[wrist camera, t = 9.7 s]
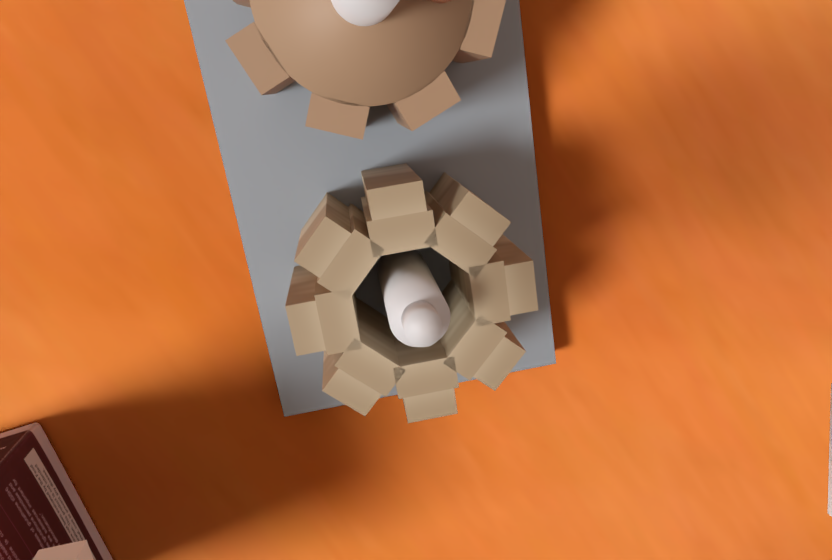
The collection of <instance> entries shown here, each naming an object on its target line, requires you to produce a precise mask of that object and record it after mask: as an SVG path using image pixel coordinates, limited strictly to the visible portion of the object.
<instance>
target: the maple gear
mask: <svg viewBox="0 0 832 560" xmlns="http://www.w3.org/2000/svg"><path fill="white" fill-rule="evenodd" d="M361 175H362V181H363V186H364V192H365V196H364V197H361V201H362V207H363V211H362V210H360V209H359V208H357V207H356V206H354V205H353V204H350V205H349V207H348V206H346V205H345V204H343V203H342V202H341V201H339V200H338V199H336V198H335V197H333V196H332V195H330V194H329V193H326V195H325V196H324V198H323V199H322V200H321V202H320V203H319V205H318V206H317V208H316V209H315V211H314V212H313V213H312V215H311V216H310V218H309V219H308V221H307V222H306V224H305V225H304V226H303V228H302V229H301V233H300V237H299V242H298V246H297V250H296V255H295V259H294V262H296V263H297V264H299V265H300V266H295V267H294V269H293V274H292V278H291V282H290V287H289V291H288V296H287V300H286V304H285V308H286V312H287V317H288V321H289V325H290V330H291V334H292V339H293V343H294V348H295V352H296V356H299V355H305V354H310V353H315V352H320V351H324V358H323V382H322V391H323V392H325V393H327V394H328V395H330V396H332V397H333V398H335V399H337V400H338V401H340V402H342V403H343V404H345V405H347V406H348V407H350V408H352V409H354V410H355V411H357V412H359V413H360V414H362V415H364V416H366V415H367V413H368V412H369V411H370V409H371V408H372V407H373V405H374V404H375V403H376V401H377V400H378V399H379V397H380V396H381V395H383V396H385V397H386V396H387V395H388V394H389V392H390V391H391V390H392V388H393V387H394V386H395V384H396V389H397V394H398V398H399V399H402V398H403V402H404V407H405V411H406V416H407V420H408V423H412V422H417V421H422V420H427V419H432V418H437V417H442V416H447V415H452V414H457V413H458V412H457V405H456V398H455V392H454V388H458V387H459V384H458V377H457V373H459V374H460V375H462V376H464V377H465V378H467V379H468V380H471V379H472V377H474V378H476V379H477V380H479V381H481V382H482V383H484V384H485V385H487V386H488V387H490V388H491V389H493V390H496V389H497V388H498V387H499V385H500V384H501V383H502V381H503V380H504V379H505V378H506V376H507V375H508V374H509V373H510V371H511V370H512V369H513V367H514V366H515V365H516V364H517V362H518V361H519V360H520V359H521V357H522V356H523V355H524V354H525V352H526V351H525V349H524V348H523V346H522V345H521V344H520V342H519V341H518V340H517V338H516V337H515V335H514V334H513V333H512V331H511V330H510V329H509V327H508V326H507V324H506V323H505V321H510V320H511V318H510V316H511V315H516V314H521V313H526V312H532V311H537V310H538V302H537V292H536V283H535V273H534V264H533V260H532V259H531V258H530V257H529V256H527V255H526V254H525V253H524V252H523V251H522V250H520V249H519V248H518V247H517V246H516V245H515V244H514V243H512V242H511V241H510V240H509V239H508V238H507V237H506V236H504V235H503V233H504V231H505V230H506V229H507V227H508V226H509V225H510V224H511V222H510V221H509V220H508V219H507V218H505V217H504V216H503V215H501V214H500V213H499V212H497V211H496V210H495V209H493V208H492V207H491V206H489V205H488V204H487V203H485V202H484V201H483V200H482V199H480V198H479V197H478V196H476V195H475V194H473V193H472V192H471V191H469V190H468V189H467V188H465V187H464V186H463V185H461V184H460V183H459V182H457V181H456V180H454V179H453V178H452V177H450V176H449V175H448V174H446V173H445V172H444V173H443V175H442V176H441V177H440V179H439V180H438V181H437V183H436V184H435V186H434V187H433V188H432V190H431V191H430V193H429V192H428V191H426V190H425V192H424V188H423V181H422V179H421V178H420V177H419V176H418V175H417V174H416V173H415V172H414V171H413V170H412V169H411V168H410V167H409V166H408V165H407V164H406V163H405V164H399V165H393V166H387V167H382V168H376V169H370V170H364V171H361ZM427 247H431V248H433V249H434V250H436V251H437V252H438V253H440V254H441V255H443V256H444V257H446V258H447V259H448V260H449V267H450V274H451V281H450V282H449V283H448V285H447V286H446V287H445V289H444V290H443V291H442V295H443V297H444V299H445V301H446V302H447V304H448V307H449V310H450V324H449V327H448V329H447V331H446V333H445V334H444V335H443V337H442V338H441V339H439V340H438V341H437V342H436V343H435V344H433V345H431V346H428V347H412V346H408V345H405V344H404V343H402V342H400V341H399V340H398V339H397V338H396V337H395V336H394V334H393V333H392V331H391V329H390V325H389V321H388V318H387V317H386V316H384V315H383V314H381V313H380V312H378V311H377V310H375V309H374V308H372V307H370V306H369V305H367V304H366V303H364V302H363V301H361V300H360V299H358V298H357V297H356V294H355V291H356V289H357V288H358V287H359V285H360V284H361V282H362V281H363V280H364V278H365V277H366V275H367V274H368V273H369V271H370V270H371V269H372V267H373V266H374V264H375V263H376V262H377V260H378V259H379V257H380V256H383V255H389V254H394V253H400V252H405V251H411V250H416V249H422V248H427Z"/></svg>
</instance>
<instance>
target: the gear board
mask: <svg viewBox="0 0 832 560" xmlns="http://www.w3.org/2000/svg"><path fill="white" fill-rule="evenodd" d="M184 2H185V6H186V11H187V15H188V19H189V23H190V27H191V31H192V36H193V40H194V44H195V48H196V52H197V56H198V60H199V65H200V69H201V73H202V77H203V81H204V85H205V89H206V94H207V98H208V102H209V106H210V110H211V114H212V118H213V123H214V127H215V131H216V135H217V139H218V143H219V148H220V152H221V156H222V160H223V164H224V168H225V172H226V177H227V181H228V185H229V189H230V193H231V197H232V201H233V206H234V210H235V214H236V218H237V222H238V226H239V230H240V235H241V239H242V243H243V247H244V251H245V255H246V260H247V264H248V268H249V272H250V276H251V280H252V284H253V289H254V293H255V297H256V301H257V305H258V309H259V313H260V318H261V322H262V326H263V330H264V334H265V338H266V343H267V347H268V351H269V355H270V359H271V363H272V367H273V372H274V376H275V380H276V384H277V388H278V392H279V396H280V401H281V405H282V409H283V413H284V417H286V416H291V415H296V414H301V413H306V412H311V411H316V410H321V409H327V408H332V407H337V406H342V405H345V404H343V403H342V402H340V401H338V400H337V399H335V398H333V397H332V396H330V395H328V394H327V393H325V392H323V391H322V382H323V358H324V351H320V352H315V353H310V354H305V355H299V356H296V352H295V348H294V343H293V339H292V334H291V330H290V325H289V321H288V317H287V312H286V308H285V304H286V300H287V296H288V291H289V287H290V282H291V278H292V274H293V269H294V267H295V266H300V265H299V264H297V263H296V262H294V259H295V255H296V250H297V246H298V242H299V237H300V233H301V229H302V228H303V226H304V225H305V224H306V222H307V221H308V219H309V218H310V216H311V215H312V213H313V212H314V211H315V209H316V208H317V206H318V205H319V203H320V202H321V200H322V199H323V198H324V196H325V195H326V193H329V194H330V195H332V196H333V197H335V198H336V199H338V200H339V201H341V202H342V203H343V204H345V205H346V206H348V207H349V205H350V204H353V205H354V206H356V207H357V208H359V209H360V210H362V211H363V207H362V201H361V197H364V196H365V192H364V186H363V181H362V175H361V171H364V170H370V169H376V168H382V167H387V166H393V165H399V164H405V163H406V164H407V165H408V166H409V167H410V168H411V169H412V170H413V171H414V172H415V173H416V174H417V175H418V176H419V177H420V178H421V179H422V181H423V188H424V192H425V190H426V191H428V192H429V193H430V191H431V190H432V188H433V187H434V186H435V184H436V183H437V181H438V180H439V179H440V177H441V176H442V175H443V173H444V172H445V173H446V174H448V175H449V176H450V177H452V178H453V179H454V180H456V181H457V182H459V183H460V184H461V185H463V186H464V187H465V188H467V189H468V190H469V191H471V192H472V193H473V194H475V195H476V196H478V197H479V198H480V199H482V200H483V201H484V202H485V203H487V204H488V205H489V206H491V207H492V208H493V209H495V210H496V211H497V212H499V213H500V214H501V215H503V216H504V217H505V218H507V219H508V220H509V221H510V222H511V224H510V225H509V226H508V227H507V229H506V230H505V231H504V233H503V235H504V236H506V237H507V238H508V239H509V240H510V241H511V242H512V243H514V244H515V245H516V246H517V247H518V248H519V249H520V250H522V251H523V252H524V253H525V254H526V255H527V256H529V257H530V258H531V259H532V260H533V264H534V273H535V283H536V292H537V302H538V310H537V311H532V312H526V313H521V314H516V315H511V316H510V318H511V320H510V321H505V323H506V324H507V326H508V327H509V329H510V330H511V331H512V333H513V334H514V335H515V337H516V338H517V340H518V341H519V342H520V344H521V345H522V346H523V348H524V349H525V351H526V352H525V354H524V355H523V356H522V357H521V359H520V360H519V361H518V362H517V364H516V365H515V366H514V367H513V369H512V370H511V371H510V372H515V371H520V370H525V369H530V368H535V367H540V366H545V365H550V364H555V363H556V359H555V349H554V339H553V330H552V320H551V310H550V300H549V290H548V280H547V270H546V260H545V251H544V241H543V231H542V221H541V211H540V201H539V191H538V181H537V172H536V162H535V152H534V142H533V132H532V122H531V112H530V102H529V93H528V83H527V73H526V63H525V53H524V43H523V33H522V23H521V14H520V4H519V0H184ZM450 281H451V274H450V267H449V260H448V259H447V258H446V257H444V256H443V255H441V254H440V253H438V252H437V251H436V250H434V249H433V248H431V247H427V248H422V249H416V250H411V251H405V252H400V253H394V254H389V255H383V256H380V257H379V259H378V260H377V262H376V263H375V264H374V266H373V267H372V269H371V270H370V271H369V273H368V274H367V275H366V277H365V278H364V280H363V281H362V282H361V284H360V285H359V287H358V288H357V289H356V291H355V294H356V297H357V298H358V299H360V300H361V301H363V302H364V303H366V304H367V305H369V306H370V307H372V308H374V309H375V310H377V311H378V312H380V313H381V314H383V315H384V316H386V317H387V318H388V321H389V325H390V329H391V331H392V333H393V334H394V336H395V337H396V338H397V339H398V340H399V341H400V342H402V343H404V344H405V345H408V346H412V347H428V346H431V345H433V344H435V343H436V342H437V341H438V340H439V339H441V338H442V337H443V335H444V334H445V333H446V331H447V329H448V327H449V324H450V310H449V307H448V304H447V302H446V301H445V299H444V297H443V295H442V291H443V290H444V289H445V287H446V286H447V285H448V283H449V282H450ZM457 377H458V383H459V382H464V381H469V380H468V379H467V378H465V377H464V376H462V375H460V374H459V373H457ZM474 379H476V378H474V377H472V379H471V380H474ZM393 395H398V394H397V389H396V384H395V386H394V387H393V388H392V390H391V391H390V392H389V394H388V395H387V396H386V397H388V396H393ZM382 397H385V396H383V395H381V396H380V397H379V398H382Z"/></svg>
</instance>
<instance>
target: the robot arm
mask: <svg viewBox="0 0 832 560" xmlns="http://www.w3.org/2000/svg"><path fill="white" fill-rule="evenodd" d="M828 514H829V515H830V516H832V383H831V409H830V446H829V483H828ZM33 560H94V559H93V556H92V554H91V551H90V548H89V545H88V542H87V540H83V541H78V542H73V543H69V544H64V545H59V546H54V547H50V548H45V549H40V550H38V552H37V553H36V555H35V557H34V558H33Z"/></svg>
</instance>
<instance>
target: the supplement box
mask: <svg viewBox="0 0 832 560" xmlns="http://www.w3.org/2000/svg"><path fill="white" fill-rule="evenodd" d="M83 540H87V542H88V545H89V548H90V551H91V554H92V556H93V559H94V560H113V558H112V557H111V555H110V553H109V551H108V549H107V547H106V546H105V544H104V542H103V540H102V538H101V536H100V535H99V533H98V531H97V529H96V527H95V525H94V523H93V522H92V520H91V518H90V516H89V514H88V512H87V510H86V508H85V507H84V505H83V503H82V501H81V499H80V497H79V496H78V494H77V492H76V490H75V488H74V486H73V484H72V482H71V481H70V479H69V477H68V475H67V473H66V471H65V469H64V467H63V465H62V464H61V462H60V460H59V458H58V456H57V454H56V452H55V451H54V449H53V447H52V445H51V443H50V442H49V440H48V438H47V436H46V434H45V432H44V430H43V429H42V427H41V425H40V424H39V423H32V424H29V425H26V426H23V427H19V428H16V429H13V430H10V431H7V432H3V433H0V560H33V558H34V557H35V555H36V553H37V552H38V550H40V549H45V548H50V547H54V546H59V545H64V544H69V543H73V542H78V541H83Z"/></svg>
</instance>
